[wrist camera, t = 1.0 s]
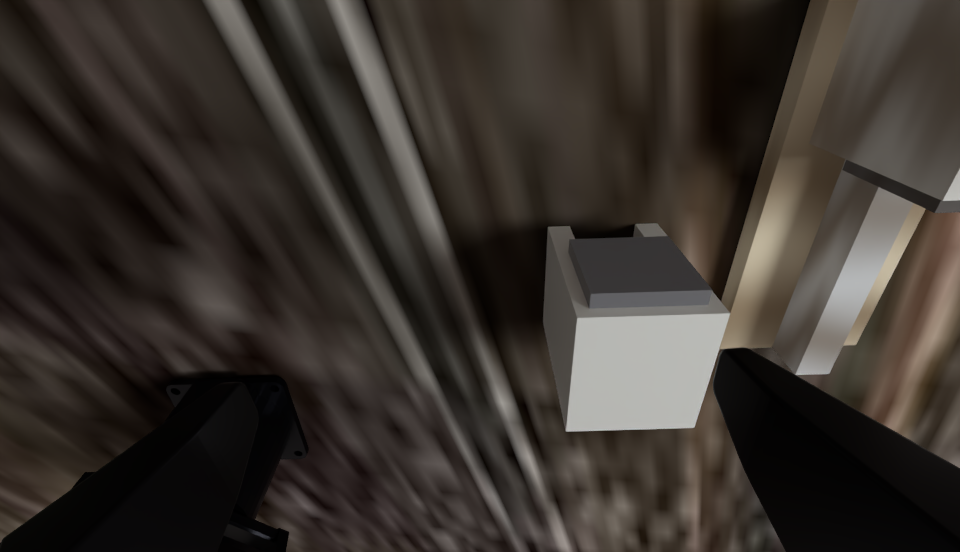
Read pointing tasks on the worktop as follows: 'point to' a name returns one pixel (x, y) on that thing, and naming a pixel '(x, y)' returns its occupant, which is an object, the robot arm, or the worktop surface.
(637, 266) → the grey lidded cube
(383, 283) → the worktop surface
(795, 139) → the rail
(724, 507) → the worktop surface
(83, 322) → the worktop surface
